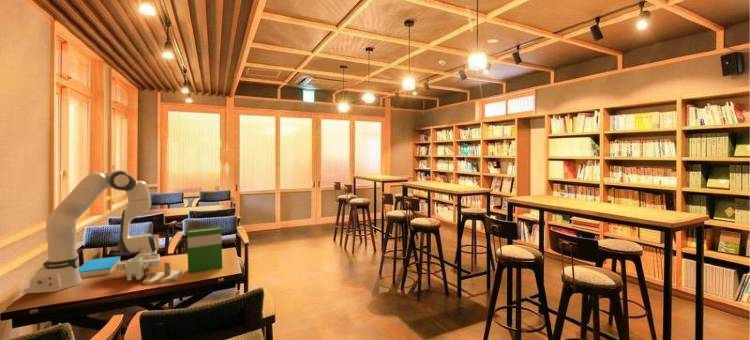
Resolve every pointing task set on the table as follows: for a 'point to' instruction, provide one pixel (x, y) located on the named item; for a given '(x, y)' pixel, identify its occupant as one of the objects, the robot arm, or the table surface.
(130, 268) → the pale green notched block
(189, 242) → the hardback book
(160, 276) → the post board
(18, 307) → the table surface
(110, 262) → the book
